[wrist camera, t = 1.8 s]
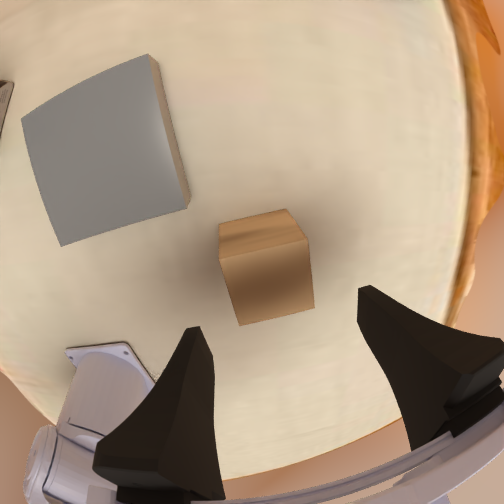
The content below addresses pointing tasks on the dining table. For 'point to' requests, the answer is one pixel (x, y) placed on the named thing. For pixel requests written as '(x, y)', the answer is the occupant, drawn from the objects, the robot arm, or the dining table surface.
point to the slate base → (107, 152)
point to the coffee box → (4, 98)
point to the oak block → (266, 266)
